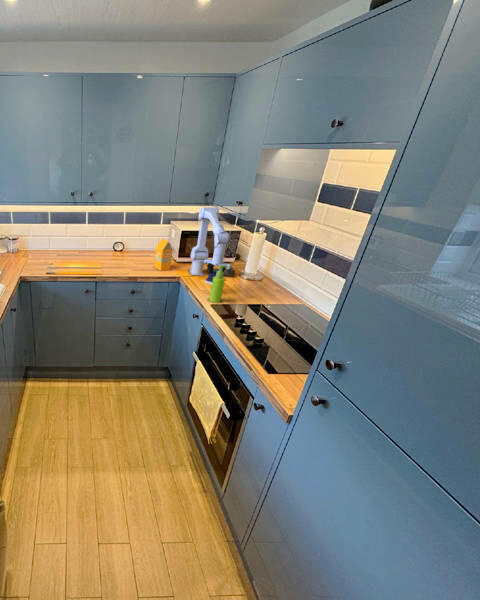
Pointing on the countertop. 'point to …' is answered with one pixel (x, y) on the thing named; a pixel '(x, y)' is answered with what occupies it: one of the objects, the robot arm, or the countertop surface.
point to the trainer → (210, 277)
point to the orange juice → (163, 255)
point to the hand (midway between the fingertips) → (214, 277)
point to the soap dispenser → (217, 285)
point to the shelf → (225, 272)
